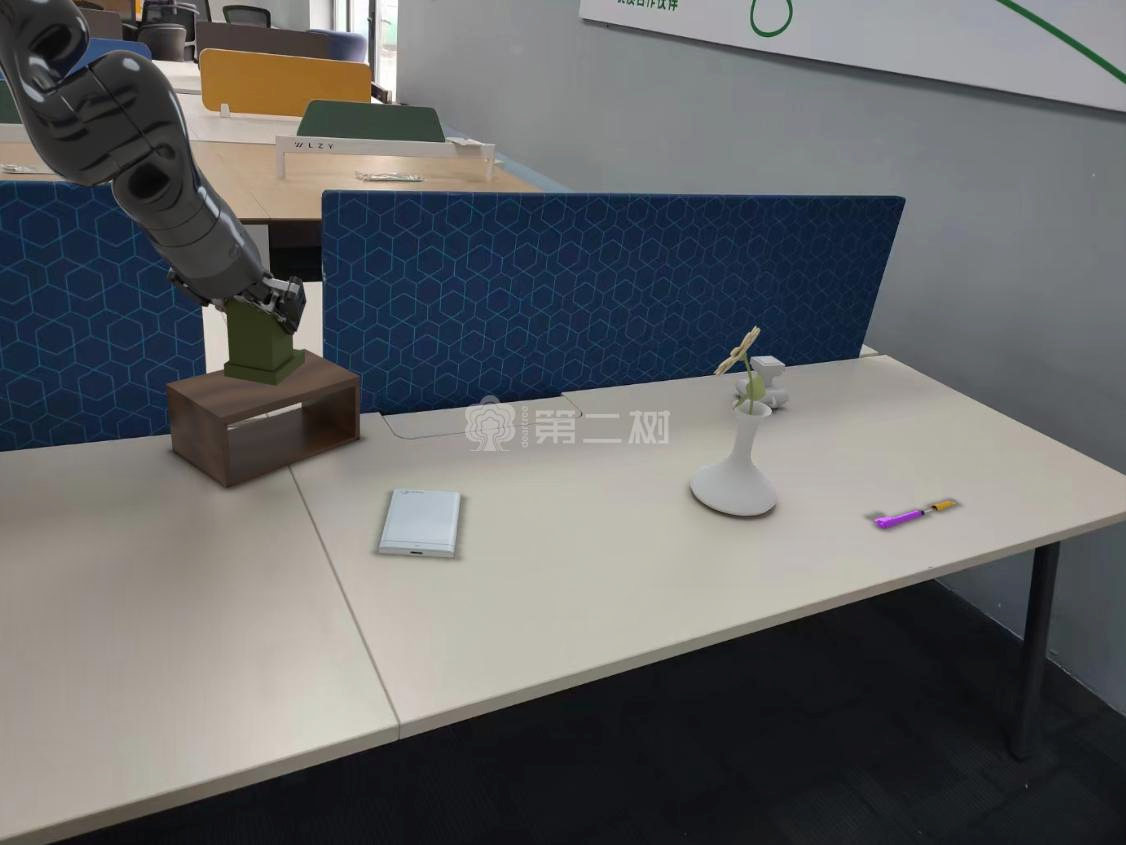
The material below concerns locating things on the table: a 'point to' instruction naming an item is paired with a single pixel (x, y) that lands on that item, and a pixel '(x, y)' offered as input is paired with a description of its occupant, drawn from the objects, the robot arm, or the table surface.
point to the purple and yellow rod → (909, 515)
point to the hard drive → (421, 523)
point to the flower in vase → (739, 453)
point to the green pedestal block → (258, 346)
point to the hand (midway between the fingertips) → (268, 323)
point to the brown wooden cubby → (268, 442)
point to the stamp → (766, 381)
